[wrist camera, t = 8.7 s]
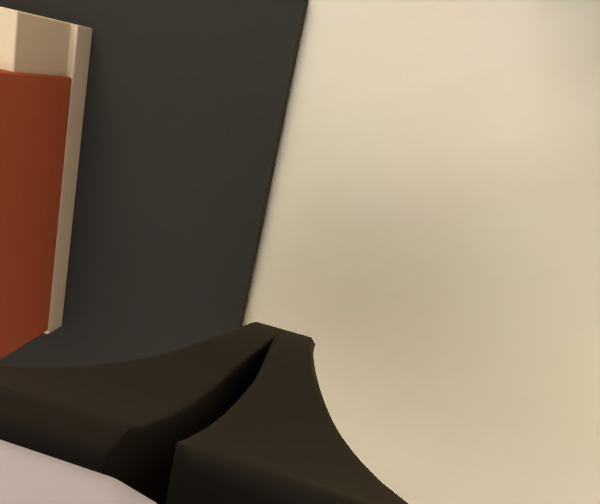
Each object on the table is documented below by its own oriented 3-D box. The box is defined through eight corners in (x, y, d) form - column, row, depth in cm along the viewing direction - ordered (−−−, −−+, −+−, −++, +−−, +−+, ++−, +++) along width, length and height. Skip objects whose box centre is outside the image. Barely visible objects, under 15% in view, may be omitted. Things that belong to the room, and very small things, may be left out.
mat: (218, 443, 24) (214, 448, 24) (-105, 340, 26) (-113, 343, 26) (308, -2, 19) (306, -4, 19) (-100, -87, 21) (-110, -90, 21)
